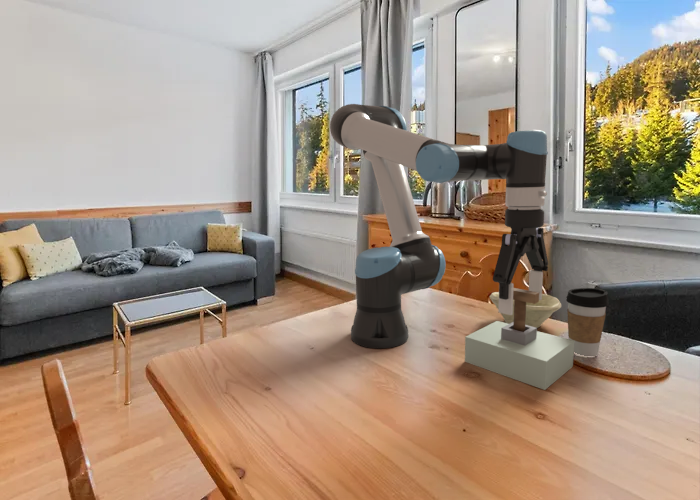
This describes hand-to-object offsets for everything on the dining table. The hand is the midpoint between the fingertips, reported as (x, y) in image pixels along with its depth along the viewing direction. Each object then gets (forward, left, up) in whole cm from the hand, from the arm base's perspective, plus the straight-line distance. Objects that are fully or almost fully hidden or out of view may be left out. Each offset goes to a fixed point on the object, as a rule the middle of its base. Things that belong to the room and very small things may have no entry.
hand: (520, 305), depth 90 cm
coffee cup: (+8, +16, -14) cm, 22 cm away
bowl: (-10, +24, -14) cm, 29 cm away
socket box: (0, 0, -14) cm, 14 cm away
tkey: (0, 0, -8) cm, 8 cm away
